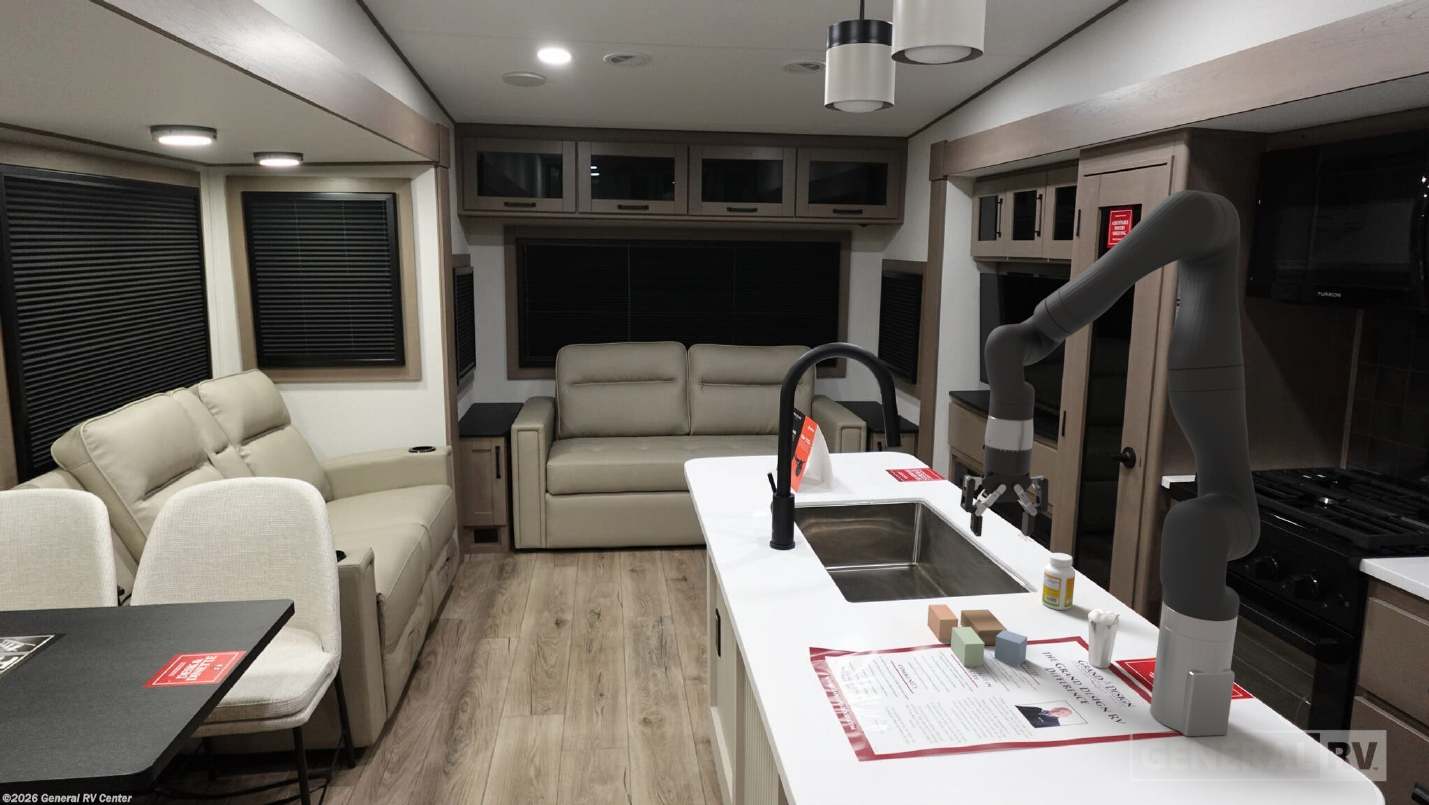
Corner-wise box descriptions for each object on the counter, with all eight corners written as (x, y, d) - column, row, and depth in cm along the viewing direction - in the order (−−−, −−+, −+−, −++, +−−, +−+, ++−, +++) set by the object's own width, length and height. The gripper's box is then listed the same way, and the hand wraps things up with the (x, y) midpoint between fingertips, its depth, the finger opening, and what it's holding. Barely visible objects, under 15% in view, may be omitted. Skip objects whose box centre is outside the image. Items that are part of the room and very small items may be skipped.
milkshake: (1100, 674, 134) (1106, 616, 132) (1077, 658, 139) (1083, 602, 137) (1124, 671, 135) (1130, 613, 133) (1100, 655, 140) (1106, 599, 139)
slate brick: (1025, 659, 139) (1027, 637, 138) (1018, 666, 137) (1020, 643, 136) (1001, 651, 142) (1003, 629, 141) (994, 658, 139) (995, 636, 138)
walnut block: (1005, 646, 144) (1007, 629, 144) (977, 646, 144) (978, 630, 143) (987, 625, 152) (988, 609, 151) (960, 626, 152) (961, 610, 151)
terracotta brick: (956, 640, 145) (958, 619, 145) (938, 641, 145) (940, 619, 144) (944, 625, 151) (946, 604, 151) (927, 625, 151) (928, 605, 150)
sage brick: (982, 666, 137) (984, 643, 136) (963, 667, 136) (965, 644, 136) (969, 648, 143) (970, 626, 142) (950, 649, 142) (952, 627, 142)
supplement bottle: (1067, 599, 162) (1071, 551, 161) (1075, 611, 157) (1080, 562, 155) (1038, 598, 163) (1042, 550, 161) (1046, 610, 158) (1050, 561, 156)
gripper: (974, 448, 137) (968, 543, 140) (1060, 448, 138) (1052, 542, 141) (959, 438, 144) (953, 528, 147) (1040, 437, 145) (1033, 527, 148)
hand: (1001, 535), depth 144 cm, fingers open, 8 cm apart
